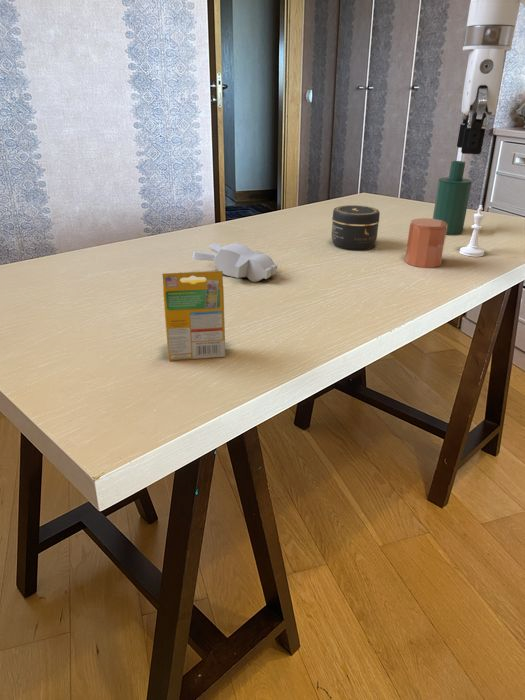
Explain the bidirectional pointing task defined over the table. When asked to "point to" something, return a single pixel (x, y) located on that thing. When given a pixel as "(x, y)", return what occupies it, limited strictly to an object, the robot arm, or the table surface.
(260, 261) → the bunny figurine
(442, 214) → the bottle
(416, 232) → the terracotta orange cylinder
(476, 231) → the chess piece
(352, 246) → the jar
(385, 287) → the table surface
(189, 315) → the crayon box
